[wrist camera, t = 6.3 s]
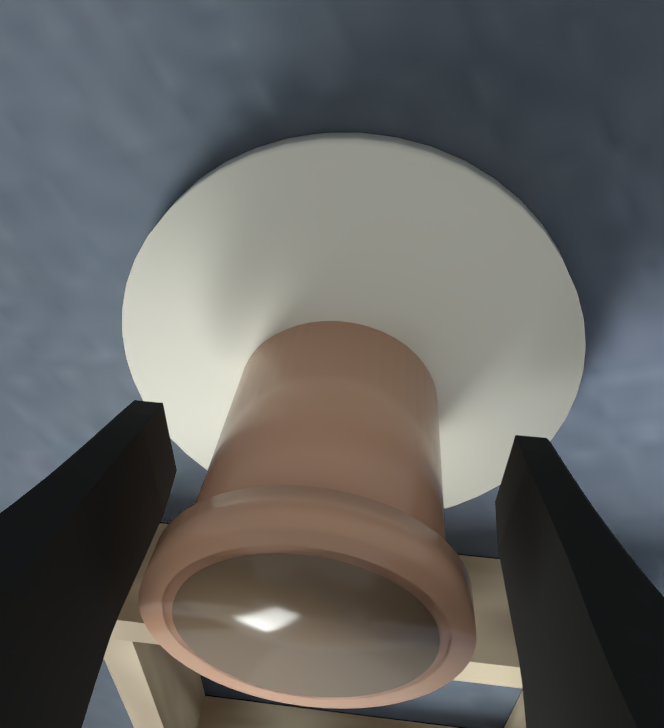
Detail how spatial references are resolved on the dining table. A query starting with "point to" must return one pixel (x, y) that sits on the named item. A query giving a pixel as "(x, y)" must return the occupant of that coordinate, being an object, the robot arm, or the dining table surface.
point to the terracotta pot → (319, 533)
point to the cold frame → (276, 722)
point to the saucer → (360, 290)
